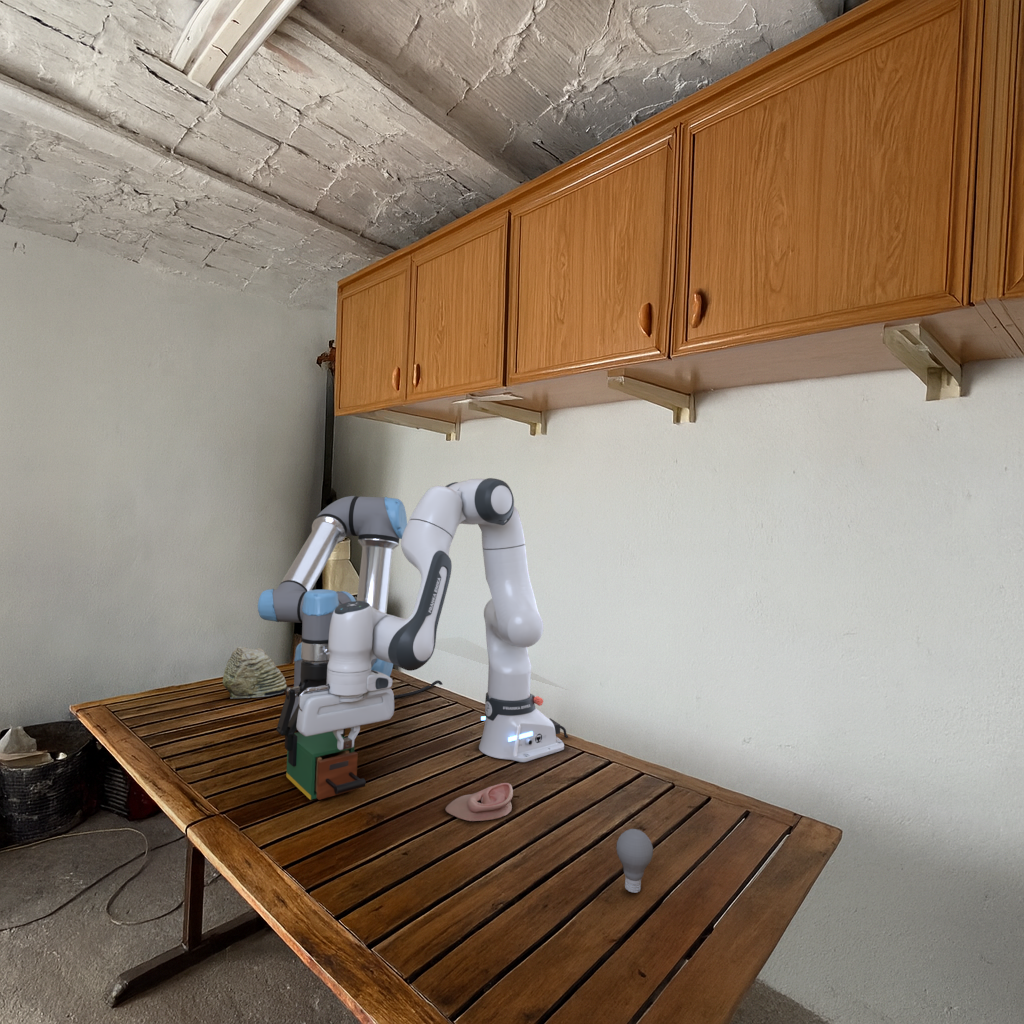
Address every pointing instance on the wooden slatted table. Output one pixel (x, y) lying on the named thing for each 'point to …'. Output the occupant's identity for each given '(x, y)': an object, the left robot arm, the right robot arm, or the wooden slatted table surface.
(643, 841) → the light bulb
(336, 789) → the drawer
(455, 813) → the anatomical model
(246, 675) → the fossil
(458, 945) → the wooden slatted table surface
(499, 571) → the right robot arm
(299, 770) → the cabinet
